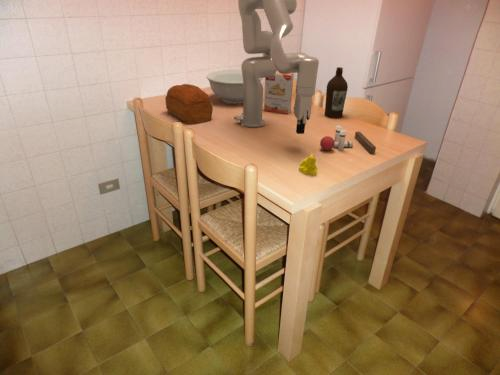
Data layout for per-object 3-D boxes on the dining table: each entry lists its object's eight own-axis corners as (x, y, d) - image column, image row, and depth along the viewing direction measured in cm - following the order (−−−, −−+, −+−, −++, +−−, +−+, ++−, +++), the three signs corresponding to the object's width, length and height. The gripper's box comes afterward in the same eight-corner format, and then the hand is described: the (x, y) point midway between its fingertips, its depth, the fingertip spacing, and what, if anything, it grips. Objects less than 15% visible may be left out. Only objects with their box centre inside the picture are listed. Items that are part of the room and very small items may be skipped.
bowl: (227, 111, 195) (226, 84, 188) (197, 97, 218) (196, 73, 210) (272, 102, 212) (273, 77, 205) (240, 90, 234) (241, 67, 227)
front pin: (334, 143, 152) (353, 142, 153) (332, 140, 154) (351, 140, 155) (333, 148, 154) (352, 148, 155) (331, 145, 156) (350, 145, 157)
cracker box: (263, 111, 197) (265, 72, 187) (267, 108, 202) (268, 70, 192) (287, 114, 193) (290, 75, 182) (291, 111, 197) (294, 72, 187)
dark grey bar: (370, 153, 149) (371, 147, 148) (354, 137, 165) (355, 131, 163) (374, 153, 149) (376, 147, 148) (358, 137, 165) (359, 131, 164)
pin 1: (334, 146, 156) (337, 127, 152) (333, 143, 158) (335, 125, 154) (340, 145, 156) (343, 127, 152) (338, 143, 158) (341, 125, 154)
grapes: (307, 165, 139) (309, 147, 135) (320, 173, 133) (323, 154, 129) (295, 168, 136) (296, 150, 132) (308, 177, 130) (310, 158, 126)
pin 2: (338, 150, 152) (341, 131, 147) (336, 148, 154) (339, 129, 150) (344, 150, 152) (347, 131, 148) (342, 148, 154) (345, 129, 150)
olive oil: (320, 113, 196) (325, 66, 184) (338, 112, 198) (344, 65, 186) (328, 119, 187) (334, 70, 175) (346, 118, 189) (354, 69, 177)
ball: (336, 152, 150) (321, 154, 152) (335, 142, 154) (321, 144, 156) (333, 142, 146) (318, 144, 148) (333, 132, 149) (318, 134, 151)
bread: (187, 126, 175) (185, 93, 167) (164, 112, 193) (161, 82, 185) (215, 120, 183) (214, 89, 175) (190, 107, 202) (188, 78, 194)
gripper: (292, 84, 147) (287, 126, 157) (300, 95, 134) (295, 140, 144) (309, 84, 148) (304, 126, 158) (319, 95, 135) (313, 140, 145)
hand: (299, 132), depth 151 cm, fingers closed
